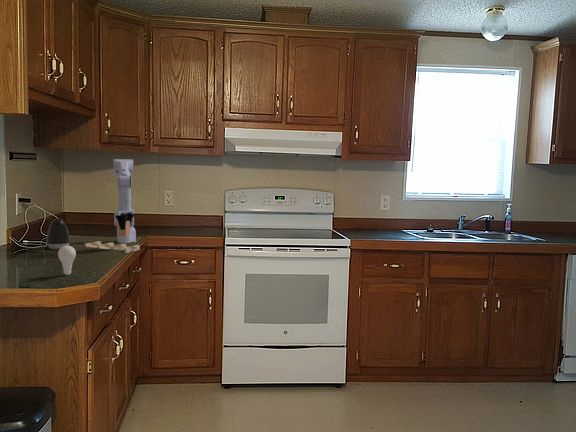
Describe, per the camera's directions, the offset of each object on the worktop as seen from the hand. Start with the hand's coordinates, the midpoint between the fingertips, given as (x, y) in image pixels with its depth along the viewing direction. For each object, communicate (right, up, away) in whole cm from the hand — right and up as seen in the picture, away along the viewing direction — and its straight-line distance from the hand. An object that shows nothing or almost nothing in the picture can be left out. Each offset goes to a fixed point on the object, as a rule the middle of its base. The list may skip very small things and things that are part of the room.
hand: (125, 229), depth 242 cm
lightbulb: (-4, -16, -55) cm, 57 cm away
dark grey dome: (-32, -10, 0) cm, 34 cm away
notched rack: (-8, -10, +4) cm, 13 cm away
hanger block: (-1, -3, 0) cm, 3 cm away
